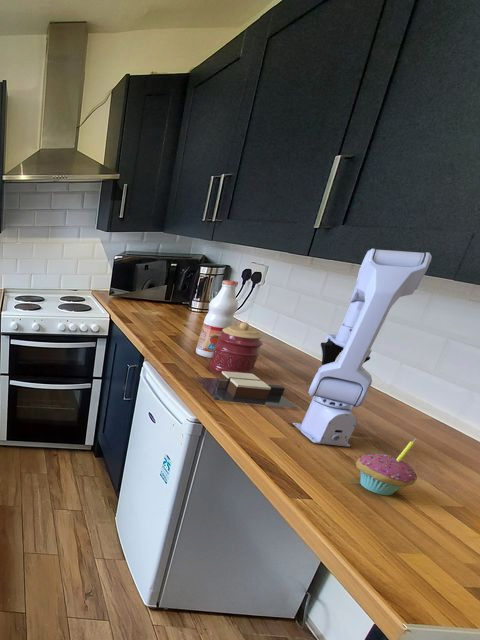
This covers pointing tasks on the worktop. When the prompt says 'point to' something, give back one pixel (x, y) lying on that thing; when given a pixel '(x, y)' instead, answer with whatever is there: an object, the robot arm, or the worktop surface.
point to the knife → (274, 388)
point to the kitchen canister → (236, 350)
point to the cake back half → (238, 376)
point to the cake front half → (248, 389)
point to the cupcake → (386, 472)
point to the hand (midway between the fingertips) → (334, 372)
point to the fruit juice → (217, 318)
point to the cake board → (224, 395)
